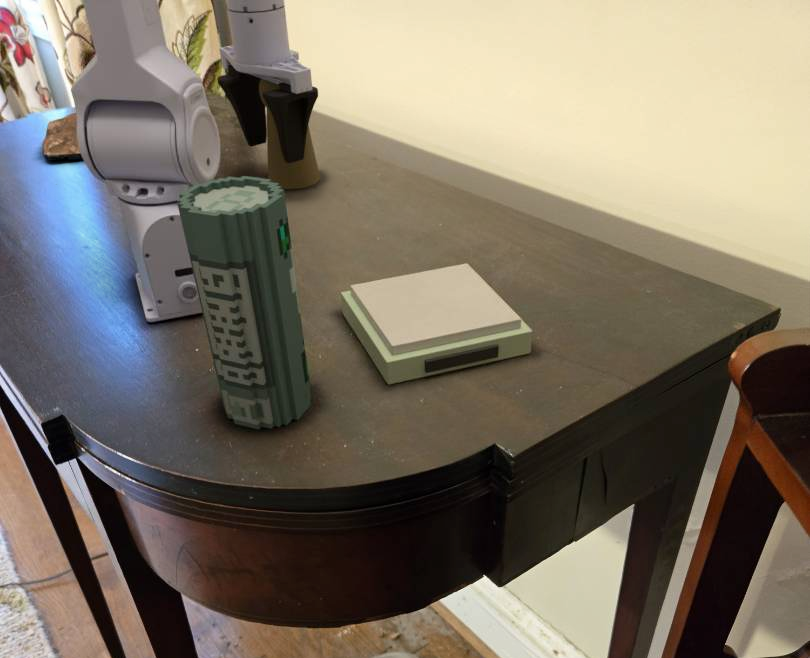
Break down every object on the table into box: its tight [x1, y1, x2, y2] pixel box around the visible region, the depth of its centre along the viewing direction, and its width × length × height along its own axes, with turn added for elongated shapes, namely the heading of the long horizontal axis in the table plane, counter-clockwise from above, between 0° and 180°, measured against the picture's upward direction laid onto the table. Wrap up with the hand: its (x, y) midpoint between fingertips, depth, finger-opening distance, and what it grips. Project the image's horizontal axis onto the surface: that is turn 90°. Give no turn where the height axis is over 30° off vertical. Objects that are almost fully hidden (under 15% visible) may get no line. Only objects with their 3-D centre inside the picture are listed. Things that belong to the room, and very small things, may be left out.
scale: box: [340, 262, 534, 386], centre depth 63 cm, size 12×12×3 cm
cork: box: [259, 78, 321, 190], centre depth 86 cm, size 6×6×11 cm
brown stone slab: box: [41, 112, 83, 161], centre depth 99 cm, size 12×13×4 cm
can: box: [177, 175, 312, 430], centre depth 52 cm, size 6×6×15 cm
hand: (275, 152), depth 86 cm, fingers open, 7 cm apart
